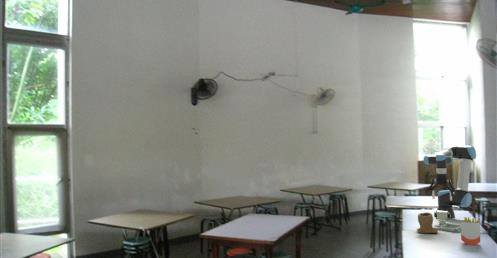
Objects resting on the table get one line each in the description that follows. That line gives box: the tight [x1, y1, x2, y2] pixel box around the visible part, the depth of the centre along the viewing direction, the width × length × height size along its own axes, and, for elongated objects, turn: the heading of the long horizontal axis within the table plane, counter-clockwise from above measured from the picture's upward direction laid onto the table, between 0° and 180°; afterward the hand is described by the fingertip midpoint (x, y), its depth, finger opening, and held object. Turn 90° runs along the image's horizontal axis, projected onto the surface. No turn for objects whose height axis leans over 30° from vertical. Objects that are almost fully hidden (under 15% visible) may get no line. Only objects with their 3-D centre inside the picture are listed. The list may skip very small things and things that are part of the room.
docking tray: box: [437, 222, 461, 234], centre depth 320 cm, size 17×16×2 cm
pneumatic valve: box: [433, 210, 451, 226], centre depth 336 cm, size 6×12×12 cm, turn 61°
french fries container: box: [460, 216, 481, 246], centre depth 277 cm, size 5×11×18 cm, turn 70°
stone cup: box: [416, 211, 439, 234], centre depth 309 cm, size 15×12×15 cm
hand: (442, 199), depth 336 cm, fingers open, 13 cm apart
